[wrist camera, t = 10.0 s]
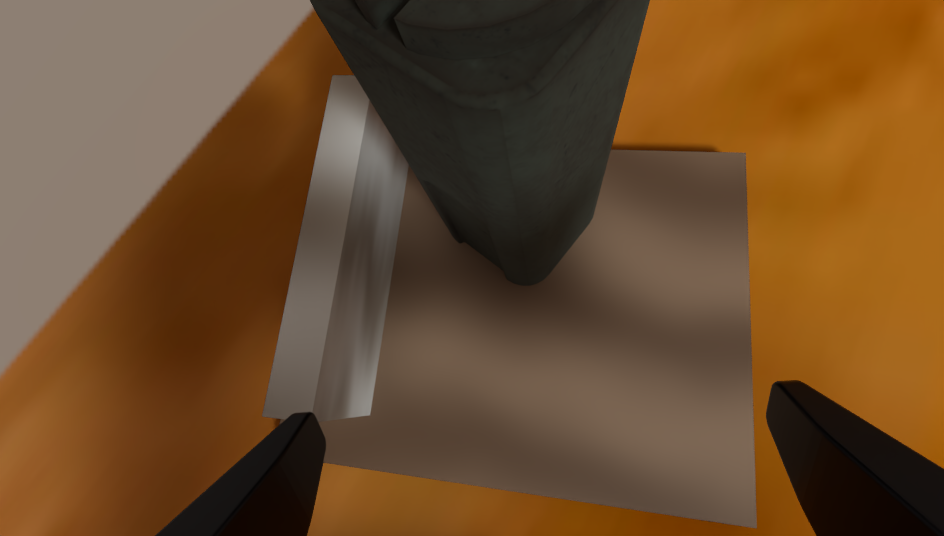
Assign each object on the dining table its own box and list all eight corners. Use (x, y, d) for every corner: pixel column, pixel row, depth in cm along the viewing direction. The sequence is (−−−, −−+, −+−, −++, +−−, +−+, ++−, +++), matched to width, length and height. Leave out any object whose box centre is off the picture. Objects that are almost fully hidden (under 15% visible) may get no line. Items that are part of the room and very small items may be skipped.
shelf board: (742, 518, 17) (845, 586, 11) (289, 451, 20) (182, 475, 14) (734, 166, 20) (810, 74, 15) (345, 155, 24) (277, 75, 18)
